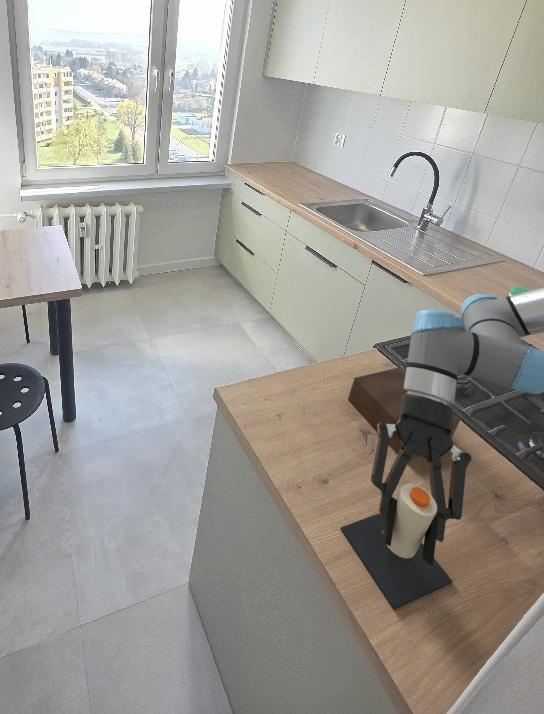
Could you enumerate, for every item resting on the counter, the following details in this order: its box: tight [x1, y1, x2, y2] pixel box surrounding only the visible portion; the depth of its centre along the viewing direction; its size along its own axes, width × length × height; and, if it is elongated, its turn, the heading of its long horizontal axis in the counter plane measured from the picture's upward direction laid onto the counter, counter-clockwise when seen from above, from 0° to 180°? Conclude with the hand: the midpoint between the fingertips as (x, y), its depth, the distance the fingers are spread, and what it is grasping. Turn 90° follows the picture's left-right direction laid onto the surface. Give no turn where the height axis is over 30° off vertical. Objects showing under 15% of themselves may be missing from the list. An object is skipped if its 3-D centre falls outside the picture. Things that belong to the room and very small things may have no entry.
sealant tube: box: [382, 483, 437, 558], centre depth 67 cm, size 5×5×12 cm
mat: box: [340, 512, 453, 610], centre depth 71 cm, size 12×12×1 cm
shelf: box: [347, 366, 461, 455], centre depth 95 cm, size 16×14×7 cm
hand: (406, 551), depth 65 cm, fingers closed on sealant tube, 5 cm apart
